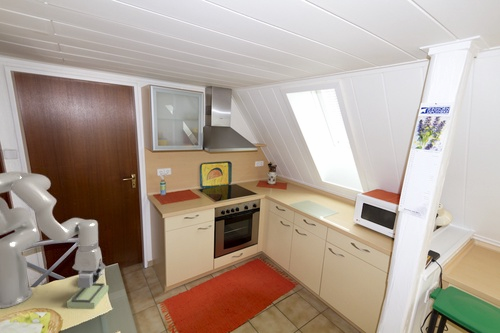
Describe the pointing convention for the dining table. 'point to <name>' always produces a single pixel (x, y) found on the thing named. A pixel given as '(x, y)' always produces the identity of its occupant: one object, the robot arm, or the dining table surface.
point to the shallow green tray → (88, 296)
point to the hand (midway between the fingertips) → (89, 280)
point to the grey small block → (86, 279)
